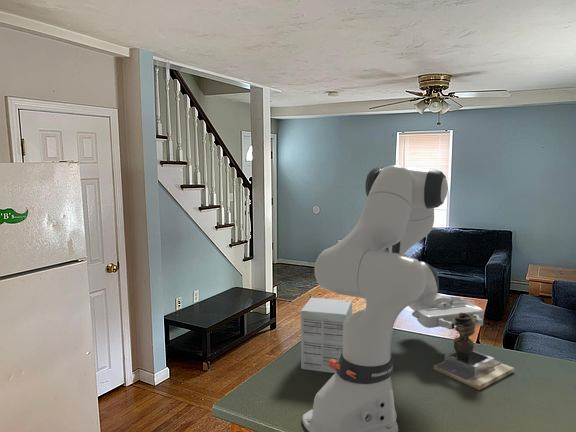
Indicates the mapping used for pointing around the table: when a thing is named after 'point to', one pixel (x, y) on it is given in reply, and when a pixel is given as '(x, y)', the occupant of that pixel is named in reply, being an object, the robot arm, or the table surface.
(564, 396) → the table surface
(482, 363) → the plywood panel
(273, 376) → the table surface
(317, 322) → the supplement box
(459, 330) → the light bulb
